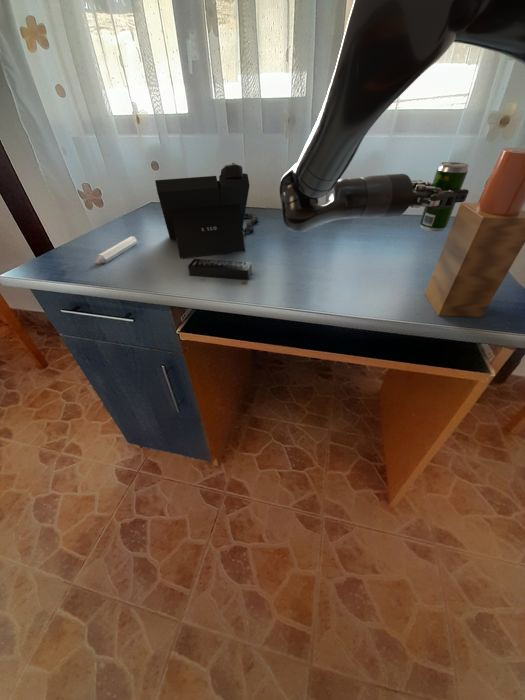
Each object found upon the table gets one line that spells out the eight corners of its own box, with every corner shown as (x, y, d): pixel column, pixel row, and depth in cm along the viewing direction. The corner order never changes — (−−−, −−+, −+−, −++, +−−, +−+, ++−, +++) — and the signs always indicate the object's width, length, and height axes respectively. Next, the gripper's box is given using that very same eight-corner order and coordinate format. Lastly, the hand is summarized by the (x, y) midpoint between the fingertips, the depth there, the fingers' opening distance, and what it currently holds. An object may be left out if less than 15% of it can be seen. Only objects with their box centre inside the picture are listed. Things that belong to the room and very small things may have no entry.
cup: (506, 204, 50) (535, 147, 44) (528, 216, 45) (562, 153, 40) (469, 204, 50) (493, 147, 45) (487, 215, 46) (515, 153, 40)
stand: (463, 295, 62) (509, 203, 50) (481, 317, 56) (539, 218, 44) (424, 294, 63) (460, 202, 51) (438, 315, 57) (483, 217, 45)
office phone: (255, 216, 103) (253, 146, 90) (279, 247, 82) (282, 162, 69) (168, 224, 97) (153, 151, 84) (171, 259, 77) (152, 170, 64)
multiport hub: (248, 280, 68) (247, 270, 67) (188, 275, 70) (187, 266, 69) (252, 271, 71) (251, 262, 70) (195, 267, 73) (193, 258, 72)
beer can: (439, 233, 62) (464, 167, 54) (414, 227, 65) (434, 164, 57) (449, 227, 65) (474, 163, 57) (424, 222, 68) (445, 160, 60)
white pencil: (96, 270, 74) (134, 245, 86) (100, 267, 73) (138, 242, 85) (88, 261, 73) (128, 237, 84) (92, 258, 72) (132, 234, 83)
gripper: (406, 183, 51) (491, 178, 53) (367, 168, 61) (439, 164, 64) (393, 228, 55) (472, 221, 58) (359, 207, 66) (427, 202, 69)
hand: (455, 191), depth 61 cm, fingers closed on beer can, 5 cm apart
